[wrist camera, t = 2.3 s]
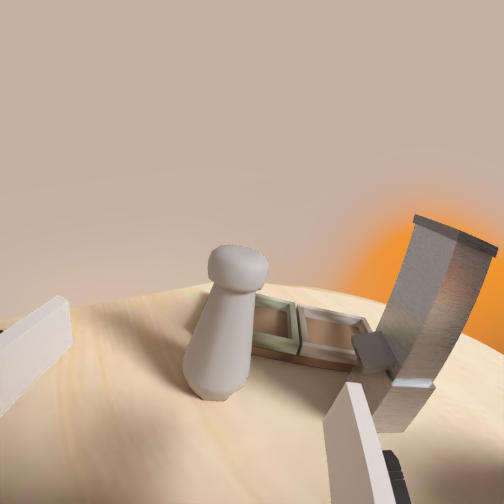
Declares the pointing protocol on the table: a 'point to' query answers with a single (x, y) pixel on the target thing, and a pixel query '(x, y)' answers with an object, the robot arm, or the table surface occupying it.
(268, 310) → the grey brown flat rectangle
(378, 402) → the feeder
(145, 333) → the table surface
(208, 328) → the salt shaker
